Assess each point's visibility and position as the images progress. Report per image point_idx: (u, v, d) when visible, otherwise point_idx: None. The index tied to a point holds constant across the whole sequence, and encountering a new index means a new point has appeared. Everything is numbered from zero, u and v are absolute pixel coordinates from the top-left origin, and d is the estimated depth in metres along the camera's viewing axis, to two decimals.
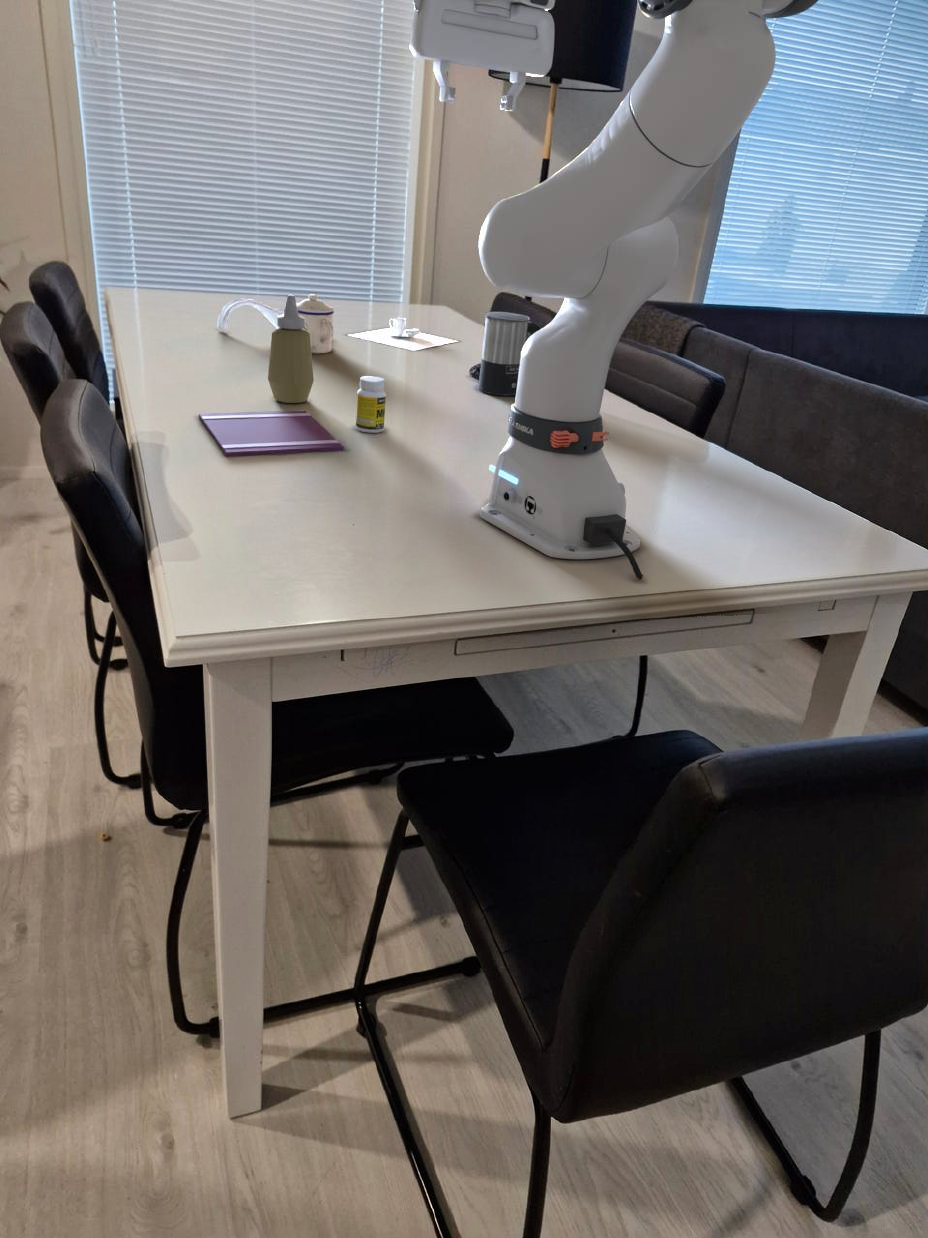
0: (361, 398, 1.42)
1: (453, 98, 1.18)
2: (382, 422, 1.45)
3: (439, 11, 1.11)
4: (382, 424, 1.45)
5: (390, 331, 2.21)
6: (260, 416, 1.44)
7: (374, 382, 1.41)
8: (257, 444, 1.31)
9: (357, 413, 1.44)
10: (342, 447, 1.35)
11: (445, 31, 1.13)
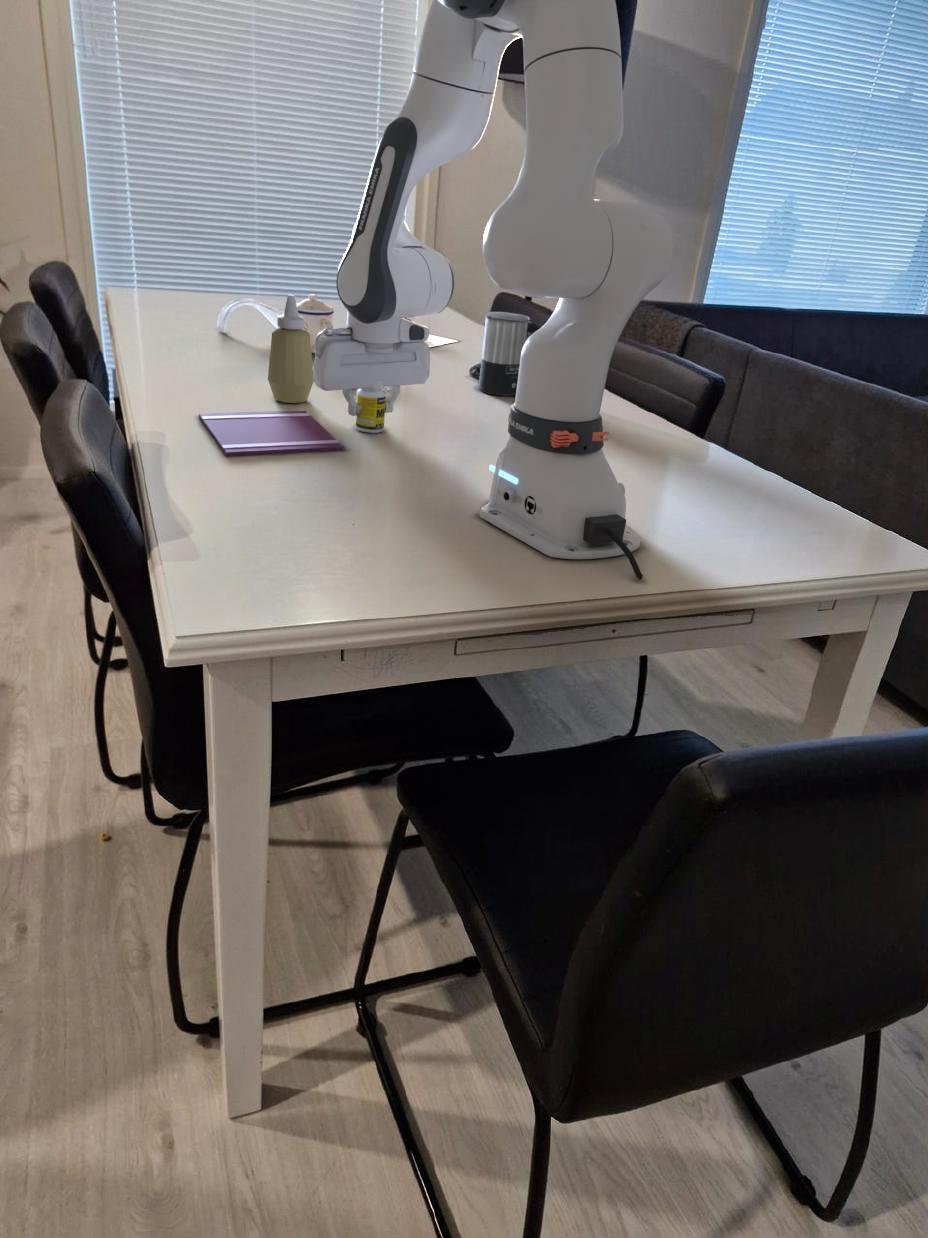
0: (361, 398, 1.42)
1: (360, 412, 1.43)
2: (382, 422, 1.45)
3: (337, 357, 1.35)
4: (382, 424, 1.45)
5: None
6: (260, 416, 1.44)
7: (374, 382, 1.41)
8: (257, 444, 1.31)
9: None
10: (342, 447, 1.35)
11: (342, 371, 1.36)
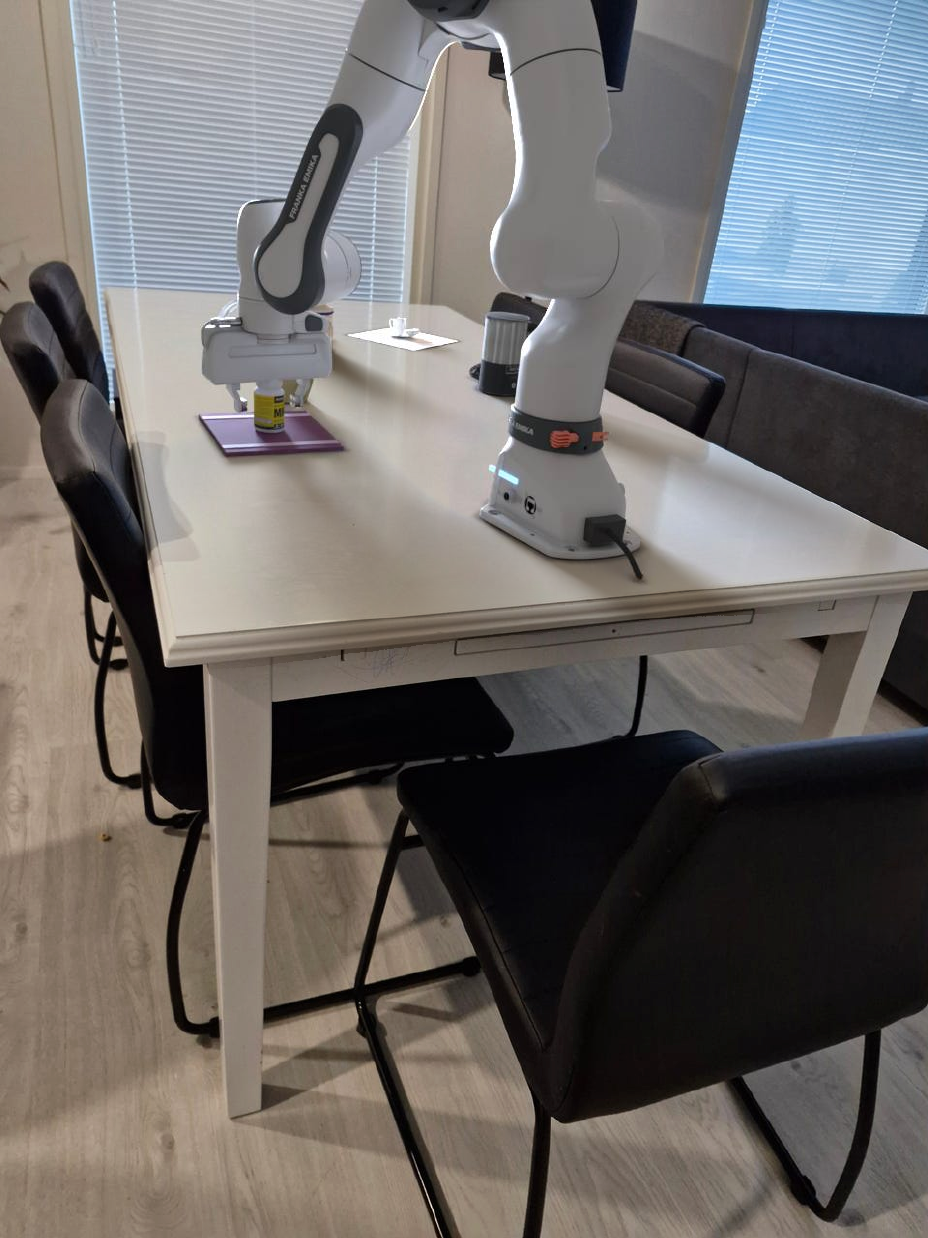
0: (257, 396, 1.34)
1: (246, 409, 1.34)
2: (281, 422, 1.37)
3: (225, 349, 1.27)
4: (281, 424, 1.37)
5: (390, 331, 2.21)
6: None
7: None
8: (257, 444, 1.31)
9: (254, 412, 1.36)
10: (342, 447, 1.35)
11: (232, 363, 1.28)
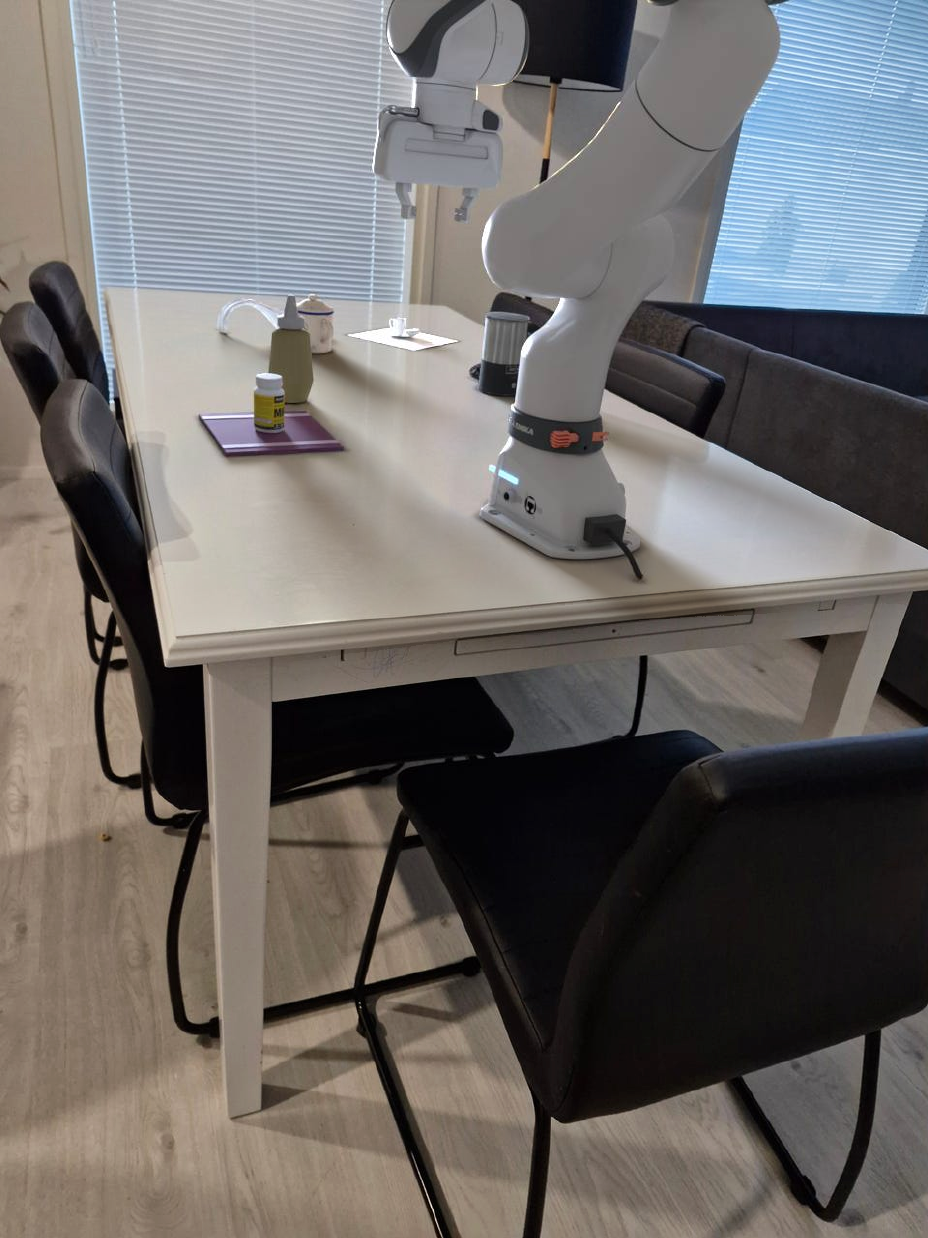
0: (257, 396, 1.34)
1: (415, 215, 1.25)
2: (281, 422, 1.37)
3: (402, 140, 1.18)
4: (281, 424, 1.37)
5: (390, 331, 2.21)
6: None
7: (270, 380, 1.33)
8: (257, 444, 1.31)
9: (254, 412, 1.36)
10: (342, 447, 1.35)
11: (407, 158, 1.19)
